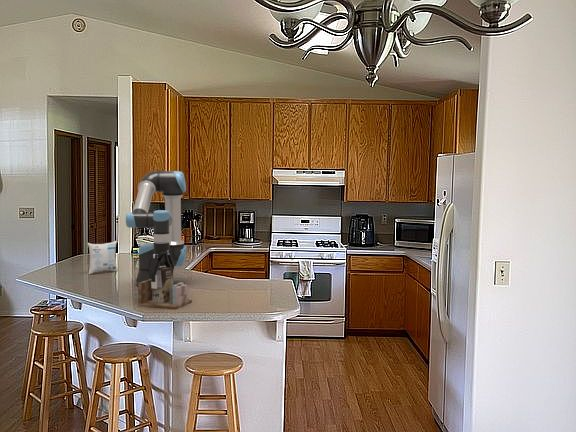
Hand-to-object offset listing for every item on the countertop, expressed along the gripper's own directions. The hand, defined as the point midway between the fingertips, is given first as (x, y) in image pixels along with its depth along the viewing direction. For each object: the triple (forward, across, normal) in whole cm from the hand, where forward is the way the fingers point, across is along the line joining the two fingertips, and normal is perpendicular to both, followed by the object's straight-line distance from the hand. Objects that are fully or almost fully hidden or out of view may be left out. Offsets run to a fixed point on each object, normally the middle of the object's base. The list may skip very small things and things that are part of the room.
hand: (161, 285), depth 267 cm
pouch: (+10, -59, -78) cm, 98 cm away
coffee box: (+8, -1, 0) cm, 8 cm away
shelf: (+9, 0, +2) cm, 9 cm away
